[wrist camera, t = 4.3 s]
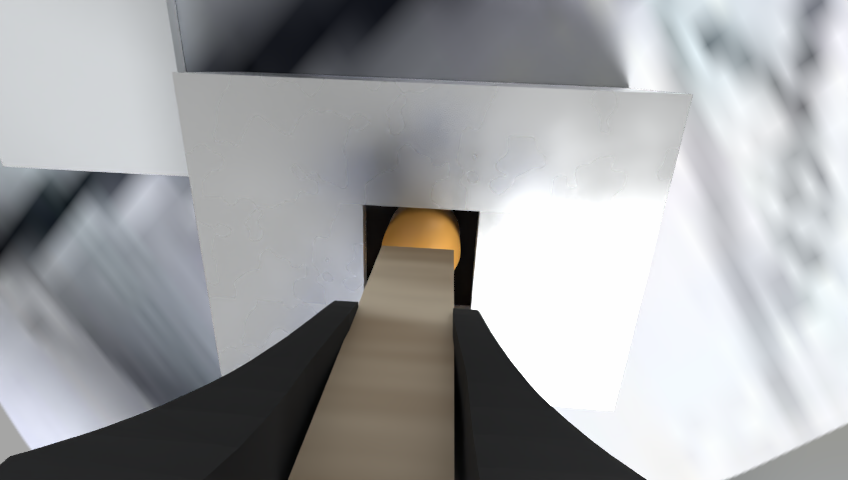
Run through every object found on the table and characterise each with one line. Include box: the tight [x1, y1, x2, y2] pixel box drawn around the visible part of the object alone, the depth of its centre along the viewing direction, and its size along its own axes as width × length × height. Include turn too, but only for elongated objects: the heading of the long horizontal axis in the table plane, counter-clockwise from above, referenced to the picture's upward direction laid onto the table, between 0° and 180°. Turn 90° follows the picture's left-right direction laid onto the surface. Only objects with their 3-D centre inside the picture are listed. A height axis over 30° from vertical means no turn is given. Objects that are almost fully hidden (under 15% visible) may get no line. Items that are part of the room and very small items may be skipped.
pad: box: [0, 0, 189, 176], centre depth 18 cm, size 9×9×1 cm
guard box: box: [172, 72, 693, 410], centre depth 18 cm, size 12×16×5 cm
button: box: [382, 207, 461, 270], centre depth 17 cm, size 3×3×2 cm
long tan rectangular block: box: [288, 246, 454, 480], centre depth 11 cm, size 2×2×9 cm
